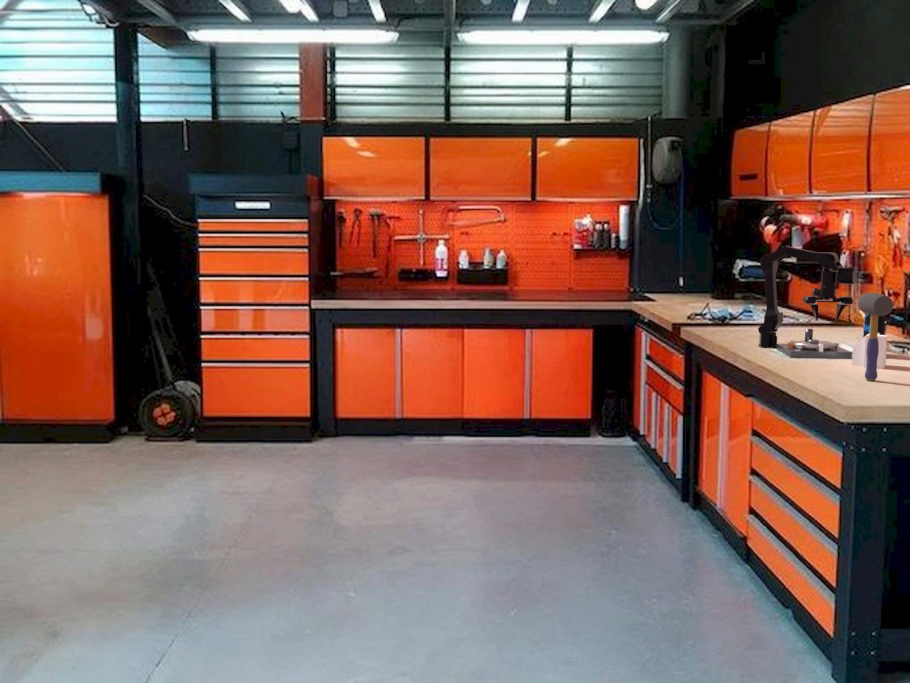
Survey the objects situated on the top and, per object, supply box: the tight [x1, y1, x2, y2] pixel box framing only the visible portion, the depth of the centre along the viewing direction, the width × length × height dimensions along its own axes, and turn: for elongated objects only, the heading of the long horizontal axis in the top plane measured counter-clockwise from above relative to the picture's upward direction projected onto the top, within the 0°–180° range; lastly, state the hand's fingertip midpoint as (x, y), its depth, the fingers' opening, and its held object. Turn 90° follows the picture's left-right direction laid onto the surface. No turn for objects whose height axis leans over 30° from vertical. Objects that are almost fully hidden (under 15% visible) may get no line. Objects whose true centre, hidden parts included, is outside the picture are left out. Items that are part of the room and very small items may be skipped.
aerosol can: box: [862, 313, 887, 338], centre depth 381 cm, size 8×8×20 cm
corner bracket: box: [851, 333, 888, 370], centre depth 357 cm, size 11×11×12 cm
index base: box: [775, 343, 853, 359], centre depth 388 cm, size 24×24×6 cm
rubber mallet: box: [857, 292, 894, 382], centre depth 322 cm, size 12×8×30 cm, turn 2°
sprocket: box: [787, 328, 840, 350], centre depth 387 cm, size 20×20×7 cm
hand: (826, 320), depth 393 cm, fingers open, 8 cm apart
